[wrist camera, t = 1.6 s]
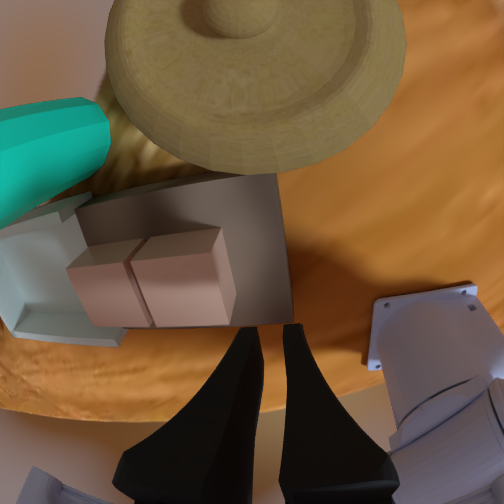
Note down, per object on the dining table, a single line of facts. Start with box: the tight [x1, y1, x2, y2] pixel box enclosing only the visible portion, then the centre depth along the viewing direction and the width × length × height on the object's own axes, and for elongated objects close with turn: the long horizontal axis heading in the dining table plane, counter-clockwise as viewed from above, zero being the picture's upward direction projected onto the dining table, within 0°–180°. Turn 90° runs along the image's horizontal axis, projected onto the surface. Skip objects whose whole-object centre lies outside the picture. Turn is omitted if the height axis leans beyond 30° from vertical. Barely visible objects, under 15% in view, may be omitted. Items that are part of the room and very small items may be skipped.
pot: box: [105, 0, 407, 175], centre depth 10 cm, size 12×12×10 cm
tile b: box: [66, 238, 153, 327], centre depth 18 cm, size 4×4×3 cm
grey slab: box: [74, 171, 294, 329], centre depth 20 cm, size 13×10×2 cm
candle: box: [0, 97, 111, 230], centre depth 12 cm, size 6×6×12 cm
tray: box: [0, 191, 129, 347], centre depth 21 cm, size 15×11×4 cm
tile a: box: [130, 228, 236, 327], centre depth 17 cm, size 4×4×3 cm
